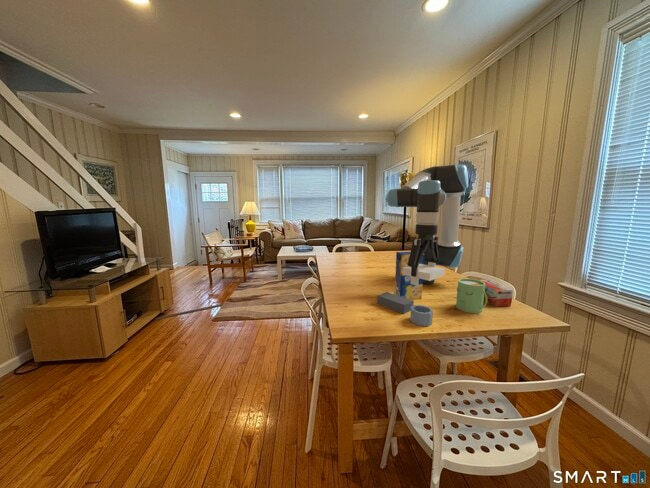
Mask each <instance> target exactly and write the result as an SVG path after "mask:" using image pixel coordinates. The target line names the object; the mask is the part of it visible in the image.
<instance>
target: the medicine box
mask: <svg viewBox="0 0 650 488" xmlns="http://www.w3.org/2000/svg"><path fill="white" fill-rule="evenodd" d="M478 280H479V281H482V282H484V283H485V291H484V292H485V293H486V296H487V304H488V305H490V306H492V307H494V308H497V307H511V306H512V300H513V293H514V291H513V289H512V288H511V287H510V288H509V287H507V286H504V285H502V284H499V283H496V282H494V281H491V280H489V279H478ZM485 301H486V299H485V295H484V301H483V303H485Z"/></svg>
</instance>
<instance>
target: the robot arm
mask: <svg viewBox="0 0 650 488" xmlns="http://www.w3.org/2000/svg"><path fill="white" fill-rule="evenodd" d="M466 189H469V173H468V167H467V166H466V165H465V164H449V165H439V166H438V165H437V166H436V165H434V166H430V167H426V168H424V169H422V170H420V171H418V172H417V173H416V174H414V176H413V177H412V179H411V180H410V181H408V182H407V183H405V184H404V185H403V186H401V187H400V188H392V189H389V191H388V192H387V196H386V197H387V198H386V201H387V204H388V207H389V206H390V207H392V208H393V207H394V208H416V216H415V217H416V218H415V219H416V220H415V223H416V225H415V228H414V229H415V231H414V233H415V234H416V235H418V236H417V239H415V238H413V239H412V240H411V241H412V243H411V244H412V245H411V249H410V252H411V253H410V257H409V261H408V266H409V267H411V284H413V285H416V286H418V283H419V268H418V266H419V263H420V261H421V258H422V255H423V254H424V265H428V266H433V267H447V268H459V266H460V264H461V261H462V258H463V255H464V248H465V247H464V246H461V245H462V243H461V242H460V241H459V229H460V228H459V227H460V214H461V213H460V212H461V196H462V195H463V194H464V193H465V190H466ZM440 207H441V215H440V216H441V217H440V219H441V220H440V236H439V237H440V239H439V237H438V236H436V235H437V234H438V227H439V226H438V223H439V210H440ZM438 239H439V240H438ZM431 284H435V279H433V280H431V281H428V280H424V279H423V284H422V285H431Z"/></svg>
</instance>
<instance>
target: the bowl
mask: <svg viewBox="0 0 650 488" xmlns="http://www.w3.org/2000/svg"><path fill="white" fill-rule="evenodd" d="M433 310H434V309H433V308H431V307H429V306H426V305H422V304H415V305H414V304H413V306H411V311H410V317H409V320H410V322H411V323H412V324H414V325H415V326H420V327H429V326H431V325H432V324H433V315H434V311H433Z"/></svg>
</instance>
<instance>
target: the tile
mask: <svg viewBox="0 0 650 488" xmlns="http://www.w3.org/2000/svg"><path fill="white" fill-rule="evenodd" d="M418 268H419V278H420V279H424V280H428V281H431V280H433V279H434V280H436V279H438V278H441V277H443V276H446V268H443V267H440V266H436V267H433V266H428V265H423V264H419V266H418ZM402 274H404V275H408V276H411V267H409V266H407V267H404V268H403V270H402Z"/></svg>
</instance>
